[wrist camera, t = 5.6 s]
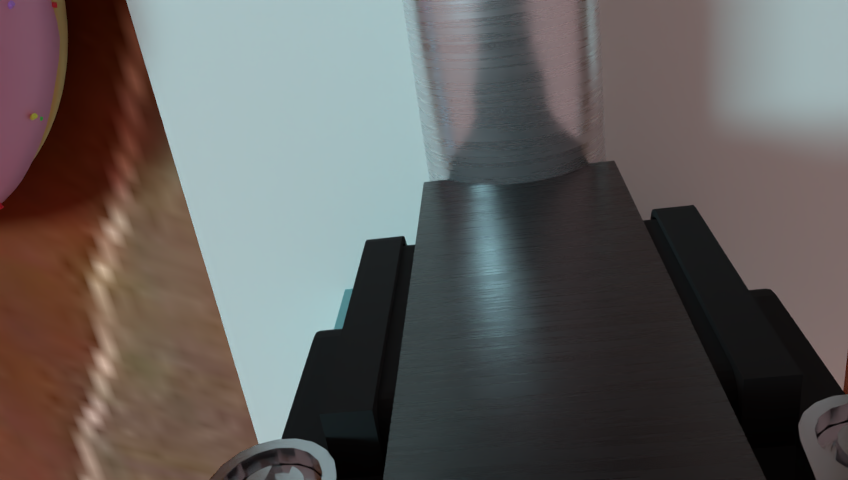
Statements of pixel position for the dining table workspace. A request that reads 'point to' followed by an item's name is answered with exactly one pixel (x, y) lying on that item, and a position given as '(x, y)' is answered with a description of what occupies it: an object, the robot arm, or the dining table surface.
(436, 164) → the silver bolt with handle
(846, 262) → the base board
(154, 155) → the dining table surface
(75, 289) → the dining table surface
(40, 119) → the doughnut
